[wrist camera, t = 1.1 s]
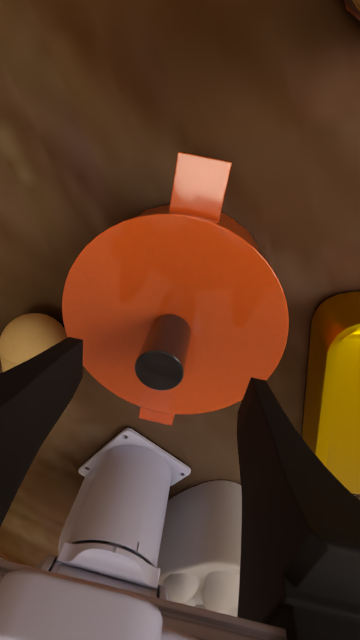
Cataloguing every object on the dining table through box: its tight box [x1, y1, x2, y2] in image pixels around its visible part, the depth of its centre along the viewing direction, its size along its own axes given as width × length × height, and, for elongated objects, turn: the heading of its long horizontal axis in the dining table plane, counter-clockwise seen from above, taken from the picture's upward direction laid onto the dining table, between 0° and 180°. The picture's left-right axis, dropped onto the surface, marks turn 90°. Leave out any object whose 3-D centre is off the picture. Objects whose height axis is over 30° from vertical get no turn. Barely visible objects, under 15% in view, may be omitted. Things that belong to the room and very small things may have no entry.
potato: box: [0, 313, 68, 372], centre depth 23 cm, size 7×5×5 cm, turn 170°
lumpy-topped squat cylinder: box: [157, 480, 242, 617], centre depth 31 cm, size 10×13×9 cm
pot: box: [139, 152, 262, 425], centre depth 19 cm, size 11×17×5 cm
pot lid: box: [62, 212, 289, 414], centre depth 15 cm, size 12×12×4 cm
